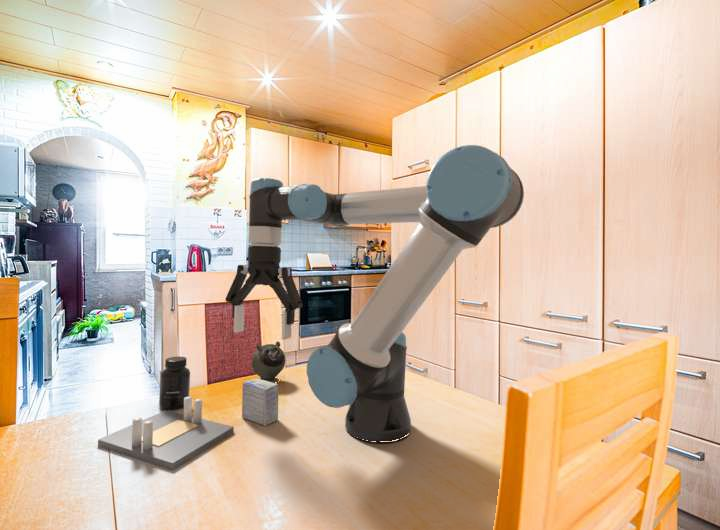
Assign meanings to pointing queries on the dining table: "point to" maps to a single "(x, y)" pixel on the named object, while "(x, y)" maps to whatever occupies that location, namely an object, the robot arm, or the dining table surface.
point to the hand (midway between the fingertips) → (261, 335)
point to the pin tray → (168, 436)
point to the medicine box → (260, 401)
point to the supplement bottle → (174, 384)
